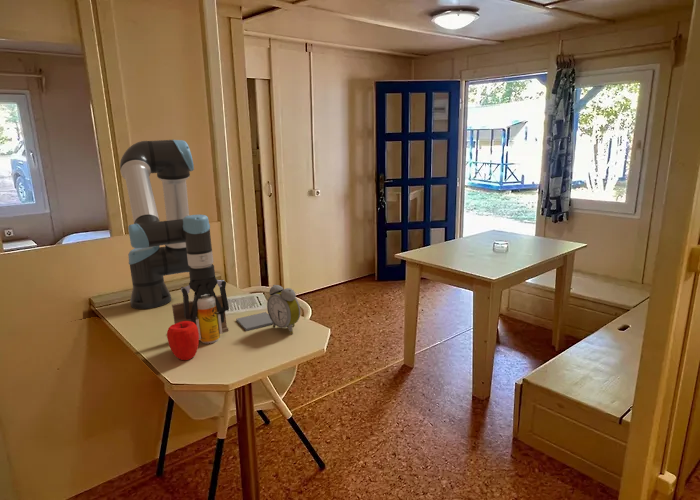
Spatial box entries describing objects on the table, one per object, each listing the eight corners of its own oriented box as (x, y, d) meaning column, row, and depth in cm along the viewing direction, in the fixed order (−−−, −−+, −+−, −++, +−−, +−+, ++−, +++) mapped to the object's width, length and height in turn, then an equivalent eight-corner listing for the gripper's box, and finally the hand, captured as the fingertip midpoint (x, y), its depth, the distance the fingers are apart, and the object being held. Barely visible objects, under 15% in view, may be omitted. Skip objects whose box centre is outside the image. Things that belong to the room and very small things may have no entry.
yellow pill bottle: (214, 344, 142) (209, 299, 139) (196, 344, 143) (190, 299, 140) (223, 336, 148) (218, 293, 144) (206, 336, 149) (201, 292, 146)
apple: (177, 350, 139) (173, 317, 137) (205, 350, 139) (201, 317, 136) (165, 364, 130) (160, 329, 128) (195, 364, 130) (190, 328, 128)
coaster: (236, 320, 161) (236, 318, 161) (265, 314, 166) (265, 311, 166) (246, 331, 152) (245, 328, 152) (277, 323, 157) (276, 321, 157)
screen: (175, 337, 149) (171, 303, 146) (224, 326, 157) (220, 293, 154) (178, 343, 145) (173, 307, 142) (228, 331, 152) (224, 297, 150)
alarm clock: (268, 328, 154) (264, 285, 150) (283, 321, 158) (280, 280, 155) (290, 336, 146) (286, 292, 142) (306, 329, 151) (303, 286, 147)
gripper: (170, 273, 132) (180, 346, 137) (235, 262, 141) (242, 331, 147) (166, 267, 138) (176, 338, 144) (228, 258, 148) (235, 324, 153)
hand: (209, 334), depth 145 cm, fingers closed on yellow pill bottle, 6 cm apart
